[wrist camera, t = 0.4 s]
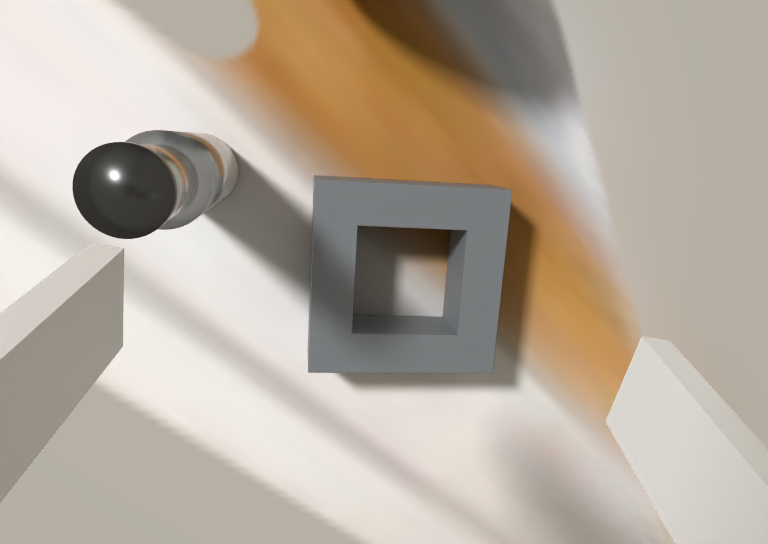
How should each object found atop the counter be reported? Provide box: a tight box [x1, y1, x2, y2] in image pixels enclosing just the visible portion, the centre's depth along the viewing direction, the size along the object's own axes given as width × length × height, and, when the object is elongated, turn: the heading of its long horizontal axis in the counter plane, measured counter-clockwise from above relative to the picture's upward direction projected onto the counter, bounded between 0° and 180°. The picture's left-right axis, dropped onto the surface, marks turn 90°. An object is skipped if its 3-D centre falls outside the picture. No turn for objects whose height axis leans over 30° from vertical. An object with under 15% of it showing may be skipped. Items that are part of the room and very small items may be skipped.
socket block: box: [308, 175, 512, 373], centre depth 38 cm, size 12×12×4 cm
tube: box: [73, 130, 238, 239], centre depth 28 cm, size 4×4×17 cm
